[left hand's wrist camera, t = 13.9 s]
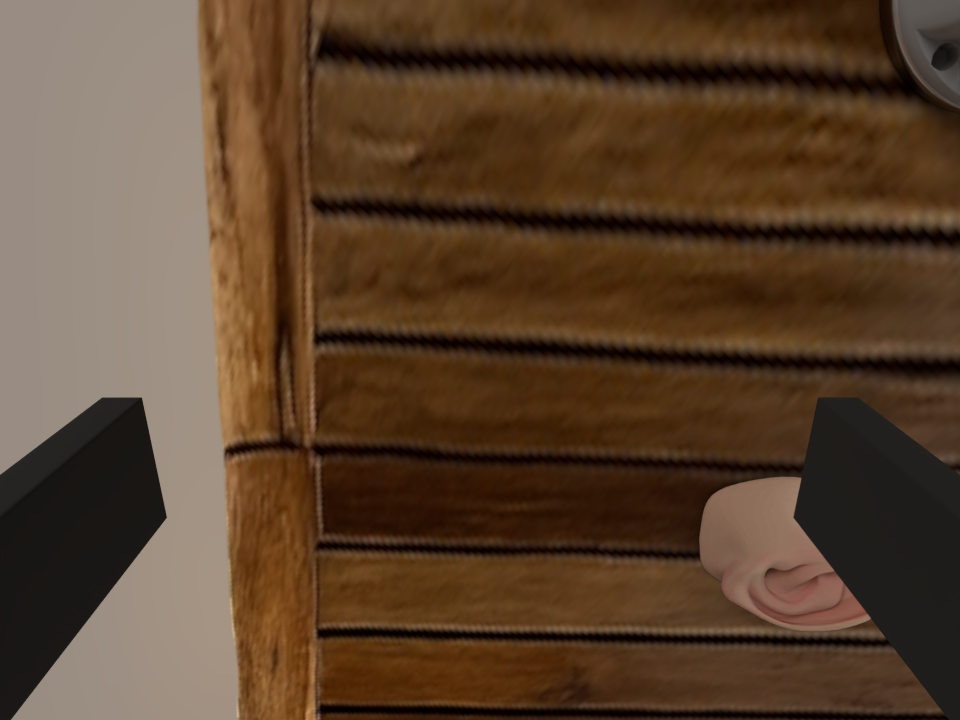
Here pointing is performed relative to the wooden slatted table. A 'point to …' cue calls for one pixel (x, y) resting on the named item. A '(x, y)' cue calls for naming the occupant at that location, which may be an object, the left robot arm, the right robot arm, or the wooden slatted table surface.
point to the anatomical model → (773, 558)
